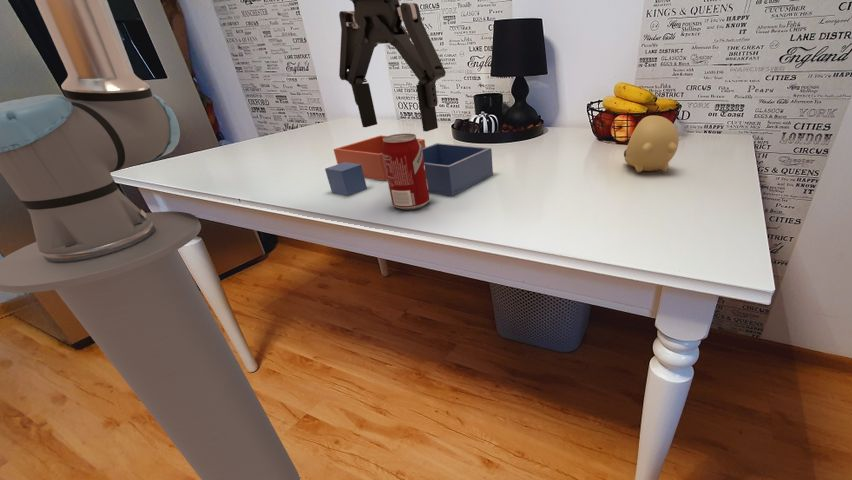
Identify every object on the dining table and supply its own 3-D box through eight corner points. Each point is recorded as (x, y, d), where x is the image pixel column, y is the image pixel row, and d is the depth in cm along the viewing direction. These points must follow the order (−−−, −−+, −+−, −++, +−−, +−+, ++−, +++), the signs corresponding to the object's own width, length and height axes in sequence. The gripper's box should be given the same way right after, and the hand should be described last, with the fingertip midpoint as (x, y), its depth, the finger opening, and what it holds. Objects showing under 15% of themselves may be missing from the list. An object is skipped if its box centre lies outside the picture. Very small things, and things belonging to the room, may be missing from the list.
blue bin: (396, 186, 82) (391, 159, 79) (440, 167, 93) (437, 142, 90) (452, 196, 76) (448, 167, 73) (493, 174, 86) (491, 148, 83)
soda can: (414, 214, 69) (401, 142, 63) (385, 208, 72) (370, 140, 66) (437, 201, 74) (428, 133, 68) (409, 196, 77) (397, 131, 70)
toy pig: (665, 184, 85) (658, 141, 88) (691, 151, 74) (682, 103, 77) (619, 185, 85) (614, 142, 88) (638, 152, 74) (631, 104, 77)
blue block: (331, 192, 81) (324, 168, 79) (350, 185, 85) (344, 161, 82) (348, 196, 79) (341, 171, 76) (367, 188, 83) (361, 164, 80)
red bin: (339, 173, 93) (333, 149, 90) (384, 157, 104) (380, 135, 101) (384, 180, 86) (379, 154, 83) (428, 163, 97) (424, 139, 94)
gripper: (457, -47, 51) (473, 126, 63) (331, -22, 63) (364, 120, 74) (419, -54, 46) (444, 136, 57) (289, -25, 58) (331, 128, 69)
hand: (399, 127), depth 66 cm, fingers open, 13 cm apart
